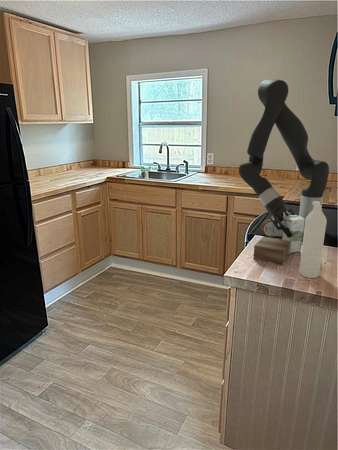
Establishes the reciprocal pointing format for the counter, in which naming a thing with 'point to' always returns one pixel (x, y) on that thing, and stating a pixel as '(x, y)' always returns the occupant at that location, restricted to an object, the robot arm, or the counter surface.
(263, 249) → the walnut block
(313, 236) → the water bottle
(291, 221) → the syrup box
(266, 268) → the counter surface
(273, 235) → the tin
